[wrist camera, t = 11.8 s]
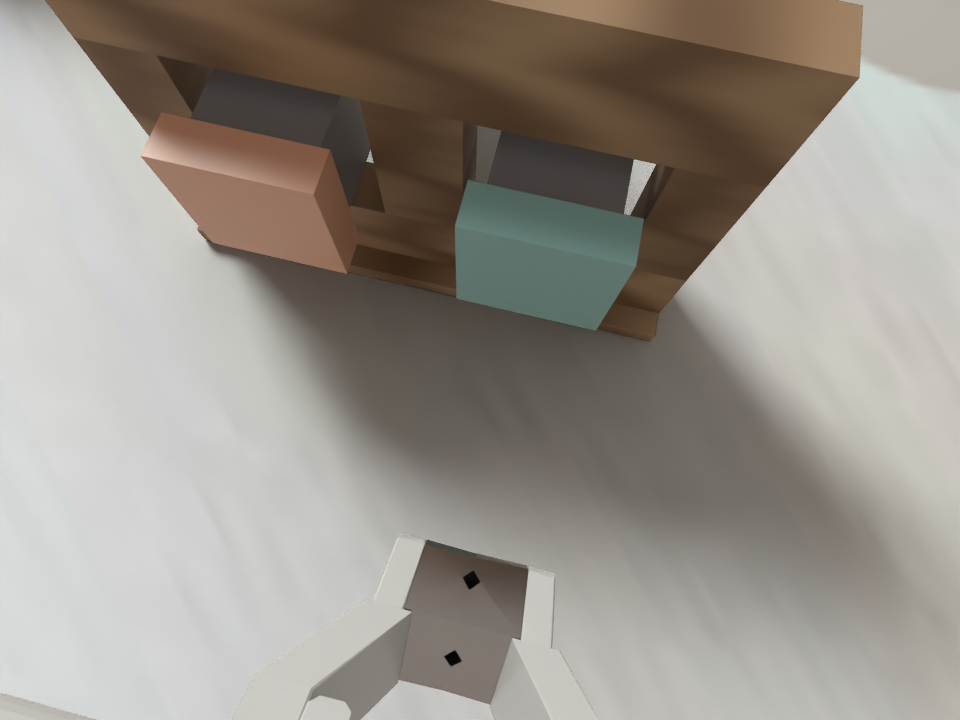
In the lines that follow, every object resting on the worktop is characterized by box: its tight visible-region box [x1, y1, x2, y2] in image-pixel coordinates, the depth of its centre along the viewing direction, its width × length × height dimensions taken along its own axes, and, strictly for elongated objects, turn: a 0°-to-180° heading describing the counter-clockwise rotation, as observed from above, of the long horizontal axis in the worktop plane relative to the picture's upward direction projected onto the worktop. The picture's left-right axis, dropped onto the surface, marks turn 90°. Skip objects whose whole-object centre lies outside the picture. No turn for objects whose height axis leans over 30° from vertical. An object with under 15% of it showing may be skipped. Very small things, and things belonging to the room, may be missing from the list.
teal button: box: [455, 131, 644, 331], centre depth 20 cm, size 5×8×5 cm, turn 167°
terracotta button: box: [140, 68, 370, 274], centre depth 20 cm, size 5×8×5 cm, turn 167°
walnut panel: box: [45, 0, 863, 341], centre depth 20 cm, size 20×5×14 cm, turn 77°
